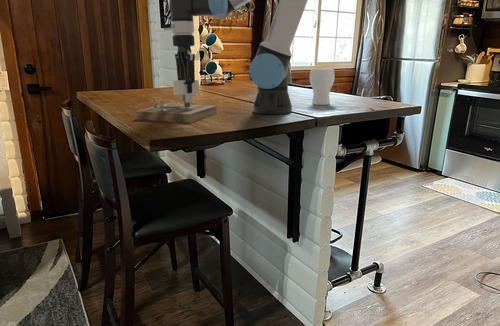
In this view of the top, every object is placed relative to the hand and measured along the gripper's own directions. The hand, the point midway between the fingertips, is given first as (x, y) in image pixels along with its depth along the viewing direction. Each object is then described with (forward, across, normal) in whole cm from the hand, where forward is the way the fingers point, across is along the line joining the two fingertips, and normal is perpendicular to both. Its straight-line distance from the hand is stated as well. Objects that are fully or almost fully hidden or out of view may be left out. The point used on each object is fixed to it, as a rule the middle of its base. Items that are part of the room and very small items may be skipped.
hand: (187, 101), depth 142 cm
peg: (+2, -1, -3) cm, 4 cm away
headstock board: (+5, -1, -4) cm, 7 cm away
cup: (+6, +4, +61) cm, 61 cm away
